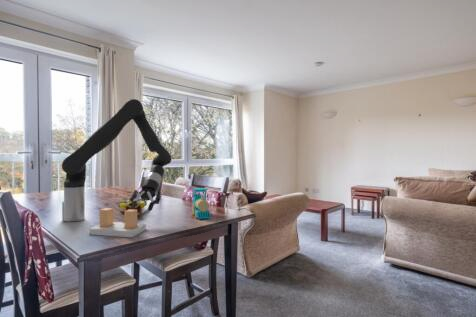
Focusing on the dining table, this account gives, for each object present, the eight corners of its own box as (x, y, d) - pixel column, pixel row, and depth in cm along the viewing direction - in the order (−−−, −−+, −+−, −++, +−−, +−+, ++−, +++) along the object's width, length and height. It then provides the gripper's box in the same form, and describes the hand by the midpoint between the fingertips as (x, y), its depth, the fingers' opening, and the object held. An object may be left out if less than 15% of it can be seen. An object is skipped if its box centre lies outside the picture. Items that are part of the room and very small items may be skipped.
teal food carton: (197, 220, 145) (197, 192, 145) (191, 213, 161) (191, 188, 161) (211, 219, 148) (211, 192, 148) (204, 212, 164) (205, 187, 163)
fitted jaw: (99, 231, 122) (99, 209, 122) (105, 229, 126) (105, 207, 126) (107, 232, 122) (107, 210, 121) (113, 229, 126) (113, 208, 125)
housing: (89, 234, 119) (89, 228, 119) (106, 226, 131) (106, 221, 131) (131, 237, 116) (132, 231, 116) (145, 229, 128) (145, 224, 127)
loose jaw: (124, 233, 120) (124, 211, 120) (129, 231, 124) (129, 209, 124) (132, 234, 120) (132, 211, 120) (137, 231, 124) (137, 209, 124)
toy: (118, 210, 171) (116, 219, 144) (118, 195, 171) (116, 202, 144) (145, 208, 177) (149, 217, 150) (146, 194, 178) (149, 200, 150)
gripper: (136, 178, 140) (123, 204, 129) (162, 178, 137) (151, 206, 126) (142, 187, 145) (130, 213, 134) (167, 188, 143) (157, 214, 132)
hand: (140, 209), depth 130 cm, fingers open, 8 cm apart
